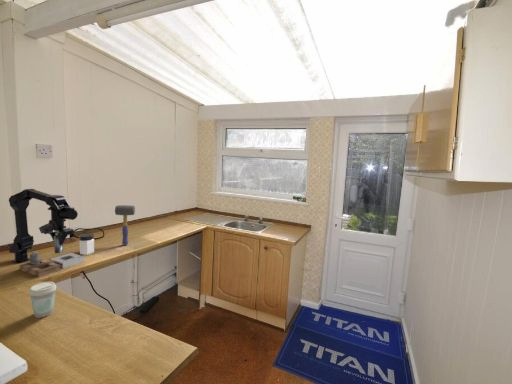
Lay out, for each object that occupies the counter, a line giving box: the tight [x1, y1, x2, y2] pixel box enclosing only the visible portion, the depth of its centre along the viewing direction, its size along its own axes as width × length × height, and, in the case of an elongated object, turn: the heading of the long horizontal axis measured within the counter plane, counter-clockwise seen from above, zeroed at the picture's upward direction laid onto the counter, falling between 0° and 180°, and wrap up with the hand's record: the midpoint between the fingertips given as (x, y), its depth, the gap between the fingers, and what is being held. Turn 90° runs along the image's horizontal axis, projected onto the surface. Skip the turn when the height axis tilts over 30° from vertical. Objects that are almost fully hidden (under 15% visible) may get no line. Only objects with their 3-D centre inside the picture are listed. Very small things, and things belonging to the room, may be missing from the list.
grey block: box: [53, 232, 64, 254], centre depth 144 cm, size 4×4×12 cm
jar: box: [78, 233, 95, 256], centre depth 167 cm, size 9×8×12 cm
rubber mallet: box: [114, 204, 136, 246], centre depth 185 cm, size 12×8×30 cm, turn 106°
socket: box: [49, 252, 85, 269], centre depth 151 cm, size 12×12×3 cm
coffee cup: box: [28, 281, 57, 319], centre depth 102 cm, size 8×8×12 cm
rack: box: [18, 251, 61, 278], centre depth 139 cm, size 18×10×9 cm, turn 68°
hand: (58, 244), depth 145 cm, fingers closed on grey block, 4 cm apart
